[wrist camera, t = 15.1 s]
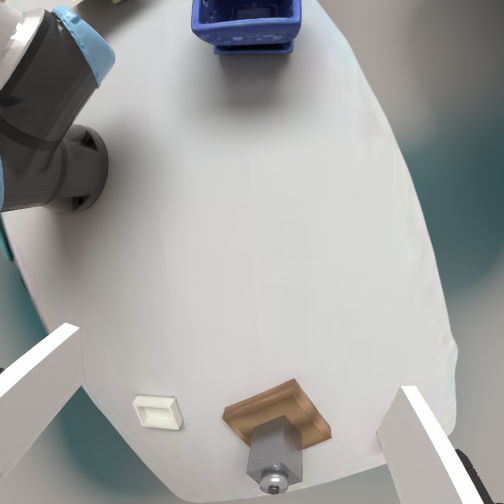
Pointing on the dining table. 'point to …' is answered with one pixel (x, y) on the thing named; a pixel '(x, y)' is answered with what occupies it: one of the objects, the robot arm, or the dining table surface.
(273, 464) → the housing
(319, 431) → the stand
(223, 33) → the flower pot
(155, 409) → the box
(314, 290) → the dining table surface
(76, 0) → the wall
